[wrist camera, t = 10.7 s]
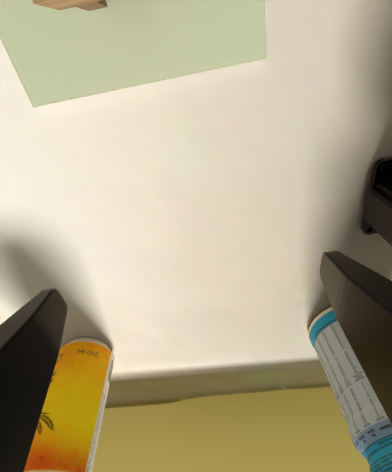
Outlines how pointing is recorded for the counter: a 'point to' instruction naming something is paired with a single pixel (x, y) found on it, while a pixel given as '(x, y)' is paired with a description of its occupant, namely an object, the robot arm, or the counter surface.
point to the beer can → (73, 409)
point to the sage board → (126, 43)
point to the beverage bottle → (353, 392)
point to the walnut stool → (72, 4)
